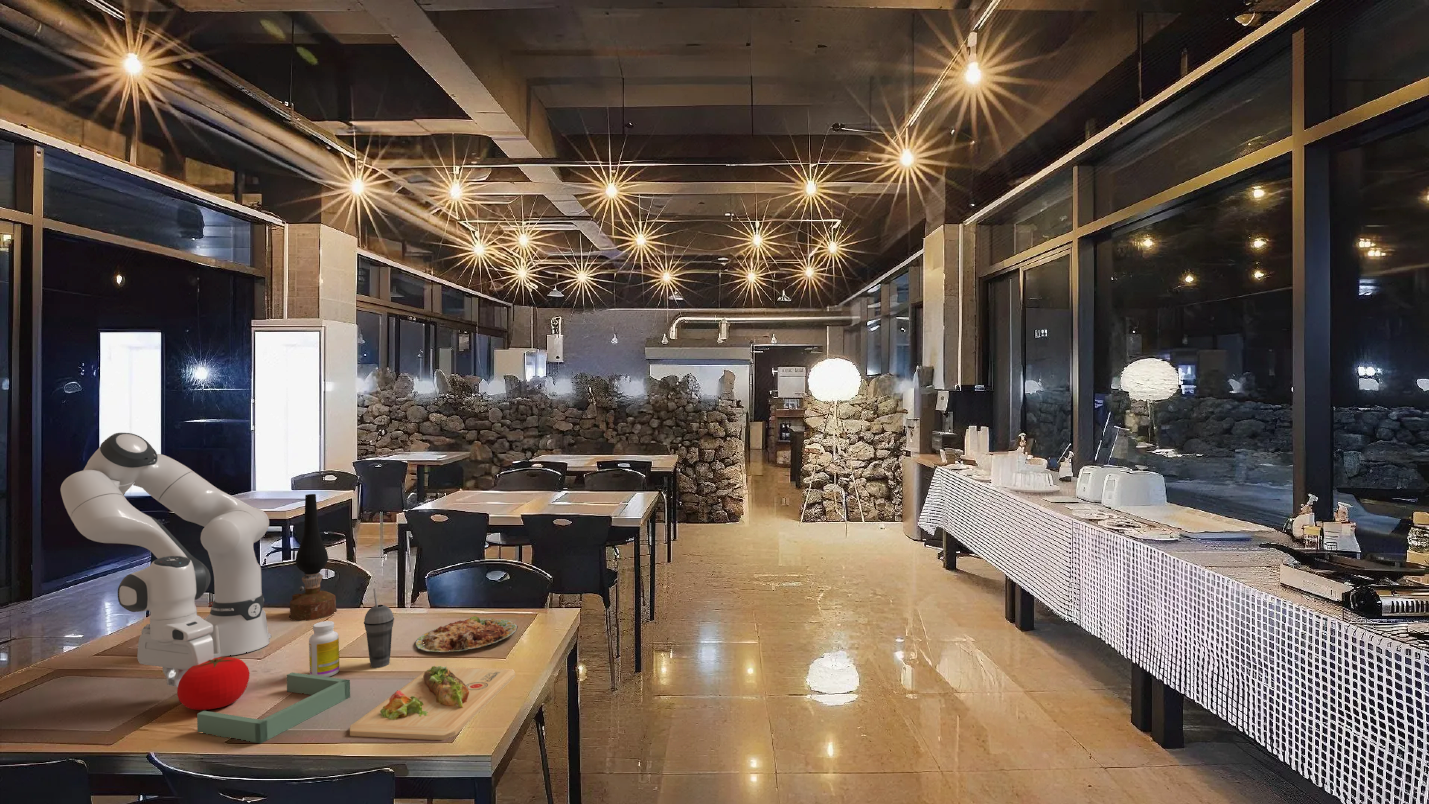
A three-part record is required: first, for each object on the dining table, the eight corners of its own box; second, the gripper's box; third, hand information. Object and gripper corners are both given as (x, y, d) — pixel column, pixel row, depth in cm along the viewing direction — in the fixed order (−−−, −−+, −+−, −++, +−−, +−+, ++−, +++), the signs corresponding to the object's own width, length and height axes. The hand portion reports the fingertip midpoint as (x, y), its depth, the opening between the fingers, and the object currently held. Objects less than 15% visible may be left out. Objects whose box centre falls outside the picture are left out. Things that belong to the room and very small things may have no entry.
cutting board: (450, 743, 144) (449, 707, 144) (343, 738, 147) (342, 702, 147) (518, 675, 178) (518, 646, 178) (431, 672, 181) (430, 643, 181)
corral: (197, 732, 149) (197, 713, 149) (292, 688, 171) (292, 672, 171) (260, 743, 144) (260, 723, 144) (350, 696, 166) (349, 679, 166)
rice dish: (393, 654, 197) (392, 635, 197) (461, 620, 223) (460, 603, 222) (475, 666, 187) (474, 646, 187) (536, 628, 213) (535, 611, 213)
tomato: (212, 720, 155) (211, 672, 155) (162, 717, 157) (161, 670, 157) (264, 692, 169) (263, 649, 169) (217, 690, 171) (216, 647, 171)
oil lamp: (344, 620, 235) (370, 500, 239) (303, 626, 221) (332, 499, 225) (314, 611, 240) (340, 494, 244) (273, 616, 226) (301, 492, 230)
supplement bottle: (345, 670, 182) (344, 620, 182) (323, 680, 176) (322, 629, 176) (325, 667, 184) (324, 618, 184) (303, 677, 178) (302, 626, 178)
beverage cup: (383, 670, 182) (381, 592, 181) (358, 668, 183) (356, 591, 183) (401, 660, 189) (399, 585, 189) (377, 658, 190) (375, 584, 190)
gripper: (128, 627, 167) (129, 685, 167) (191, 634, 160) (193, 695, 161) (156, 619, 173) (157, 675, 173) (218, 625, 166) (220, 684, 167)
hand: (175, 685), depth 167 cm, fingers closed
